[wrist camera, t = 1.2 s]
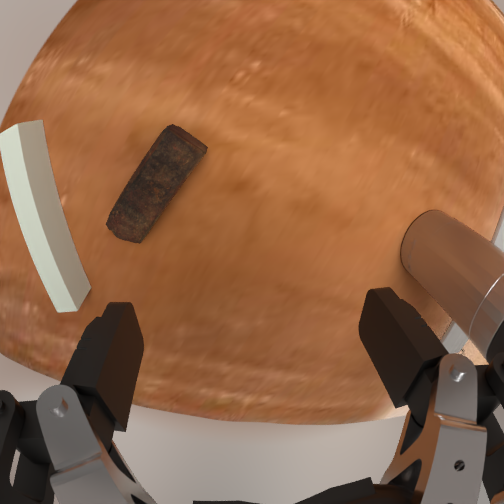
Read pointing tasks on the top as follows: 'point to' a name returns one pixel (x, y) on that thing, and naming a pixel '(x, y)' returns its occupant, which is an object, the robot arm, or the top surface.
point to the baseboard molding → (454, 334)
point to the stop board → (42, 214)
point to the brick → (155, 183)
